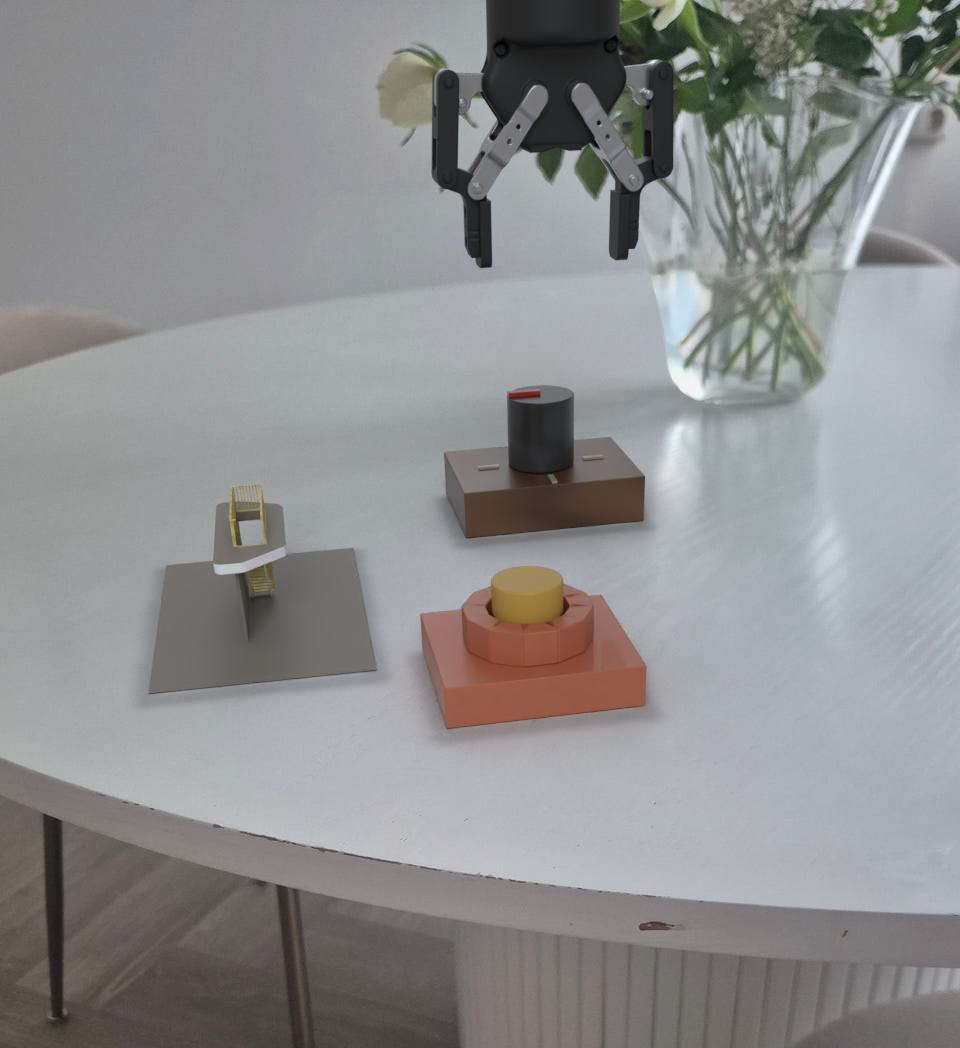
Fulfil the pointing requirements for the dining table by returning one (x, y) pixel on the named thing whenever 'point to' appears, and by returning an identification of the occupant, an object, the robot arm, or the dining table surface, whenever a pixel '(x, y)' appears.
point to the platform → (259, 609)
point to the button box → (530, 662)
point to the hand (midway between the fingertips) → (551, 262)
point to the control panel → (543, 490)
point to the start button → (527, 594)
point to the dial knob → (540, 428)
